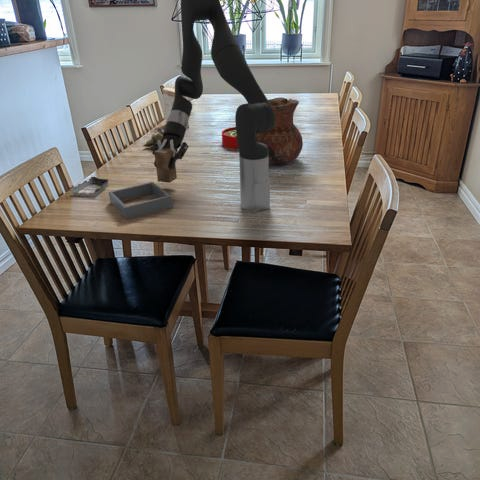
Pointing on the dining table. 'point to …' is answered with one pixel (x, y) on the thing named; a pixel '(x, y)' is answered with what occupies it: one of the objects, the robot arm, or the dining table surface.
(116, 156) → the dining table surface
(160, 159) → the walnut block
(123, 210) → the box
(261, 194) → the robot arm
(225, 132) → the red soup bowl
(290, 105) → the jug
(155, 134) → the ceramic sculpture
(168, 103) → the coffeecake box
